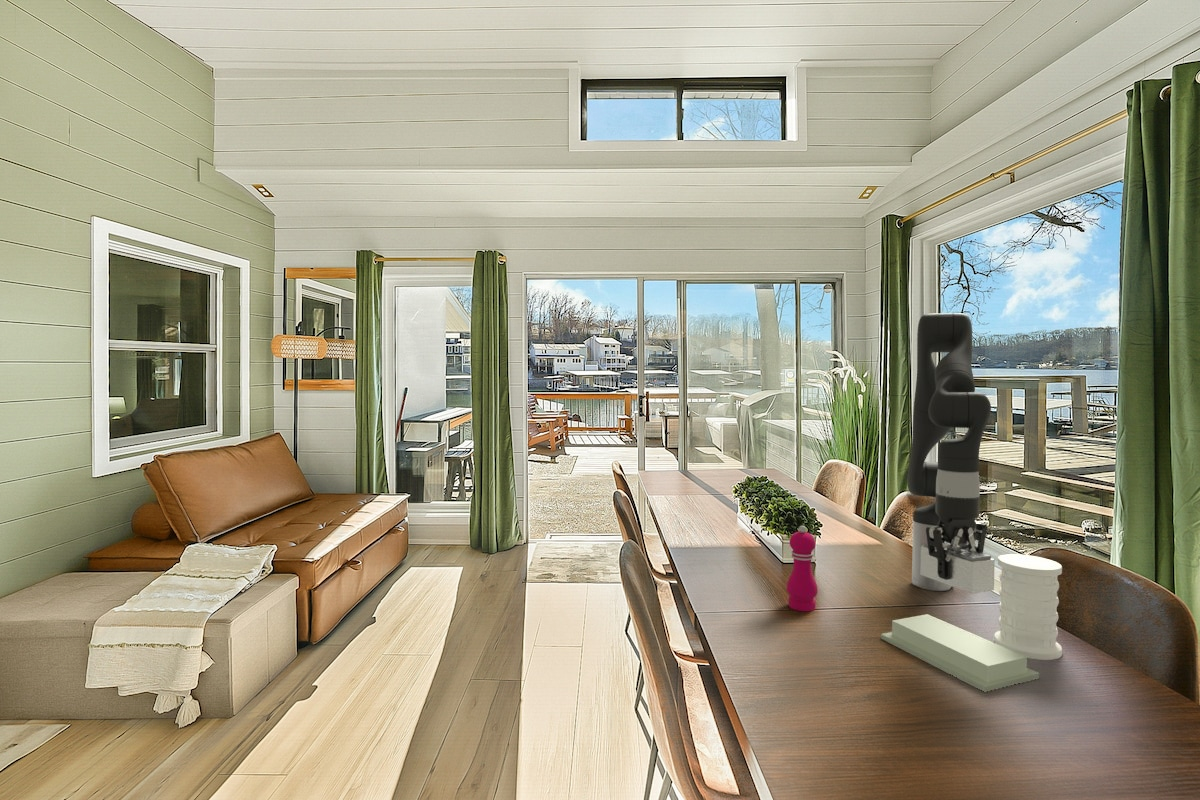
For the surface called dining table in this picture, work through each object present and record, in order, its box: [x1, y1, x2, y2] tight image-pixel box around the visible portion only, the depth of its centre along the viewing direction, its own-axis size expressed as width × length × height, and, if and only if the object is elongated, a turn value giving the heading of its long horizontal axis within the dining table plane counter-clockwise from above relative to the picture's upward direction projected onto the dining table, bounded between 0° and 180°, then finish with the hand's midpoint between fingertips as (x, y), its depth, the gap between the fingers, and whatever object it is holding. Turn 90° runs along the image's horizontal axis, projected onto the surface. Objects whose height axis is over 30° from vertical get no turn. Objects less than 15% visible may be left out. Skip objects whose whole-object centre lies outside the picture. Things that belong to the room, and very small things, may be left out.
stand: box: [880, 613, 1040, 693], centre depth 124 cm, size 14×24×4 cm, turn 20°
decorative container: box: [993, 553, 1063, 661], centre depth 128 cm, size 12×12×18 cm
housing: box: [920, 542, 996, 595], centre depth 123 cm, size 12×6×7 cm, turn 20°
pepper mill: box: [786, 525, 818, 612], centre depth 150 cm, size 7×7×20 cm
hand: (955, 576), depth 123 cm, fingers closed on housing, 5 cm apart
